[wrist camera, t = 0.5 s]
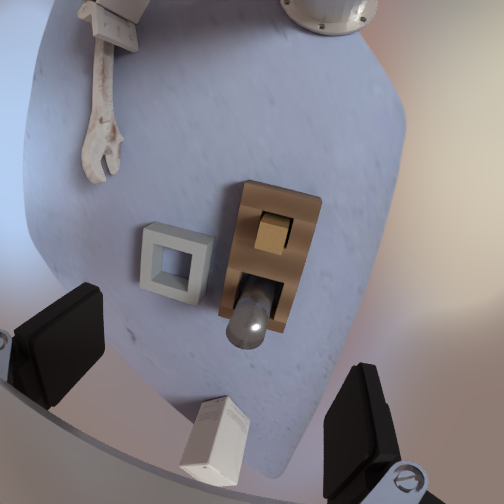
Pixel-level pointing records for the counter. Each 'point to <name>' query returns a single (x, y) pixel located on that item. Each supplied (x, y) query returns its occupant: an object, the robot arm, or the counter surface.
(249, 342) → the grey metal rounded cylinder
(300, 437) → the counter surface
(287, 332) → the counter surface
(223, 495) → the robot arm
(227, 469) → the skincare box
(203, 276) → the holder
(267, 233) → the tan square peg
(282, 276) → the socket block
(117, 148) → the wrench
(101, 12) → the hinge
